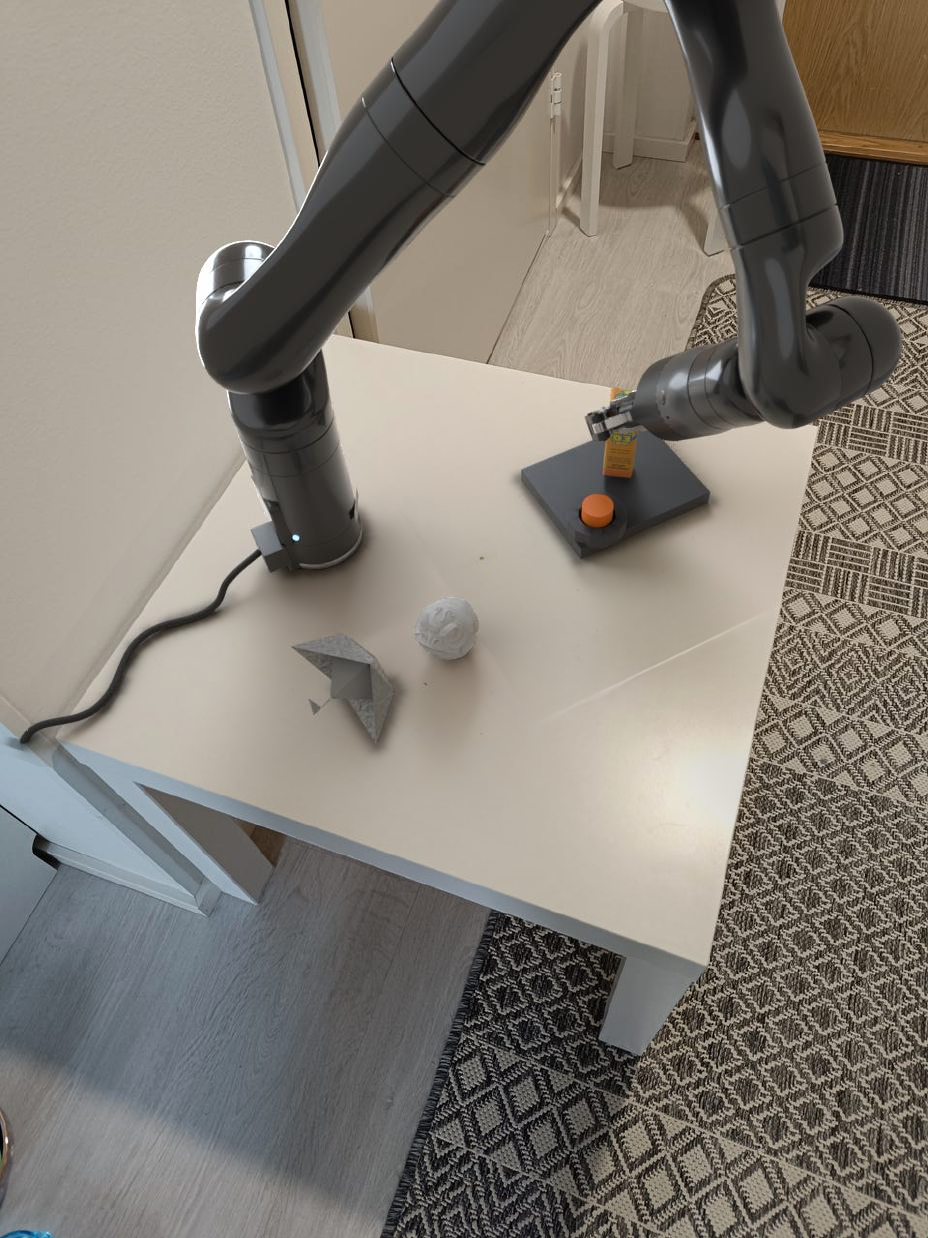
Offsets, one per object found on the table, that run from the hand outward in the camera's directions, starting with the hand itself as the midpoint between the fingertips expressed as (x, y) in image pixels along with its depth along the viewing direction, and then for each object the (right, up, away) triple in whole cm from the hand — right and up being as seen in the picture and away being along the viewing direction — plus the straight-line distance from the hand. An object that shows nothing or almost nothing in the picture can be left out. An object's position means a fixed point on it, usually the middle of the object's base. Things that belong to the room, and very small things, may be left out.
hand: (613, 414), depth 94 cm
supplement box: (+1, -5, +4) cm, 7 cm away
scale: (+1, -7, +5) cm, 9 cm away
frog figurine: (-17, -24, -5) cm, 30 cm away
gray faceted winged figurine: (-27, -29, -7) cm, 40 cm away
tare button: (-2, -11, -1) cm, 11 cm away
